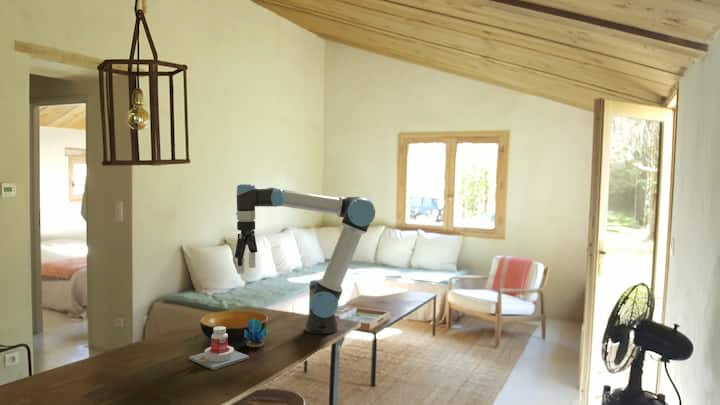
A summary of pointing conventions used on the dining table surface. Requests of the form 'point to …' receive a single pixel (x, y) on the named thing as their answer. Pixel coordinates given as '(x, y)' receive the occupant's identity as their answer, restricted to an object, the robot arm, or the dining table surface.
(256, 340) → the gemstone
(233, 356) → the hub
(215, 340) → the pill bottle
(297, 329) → the dining table surface
